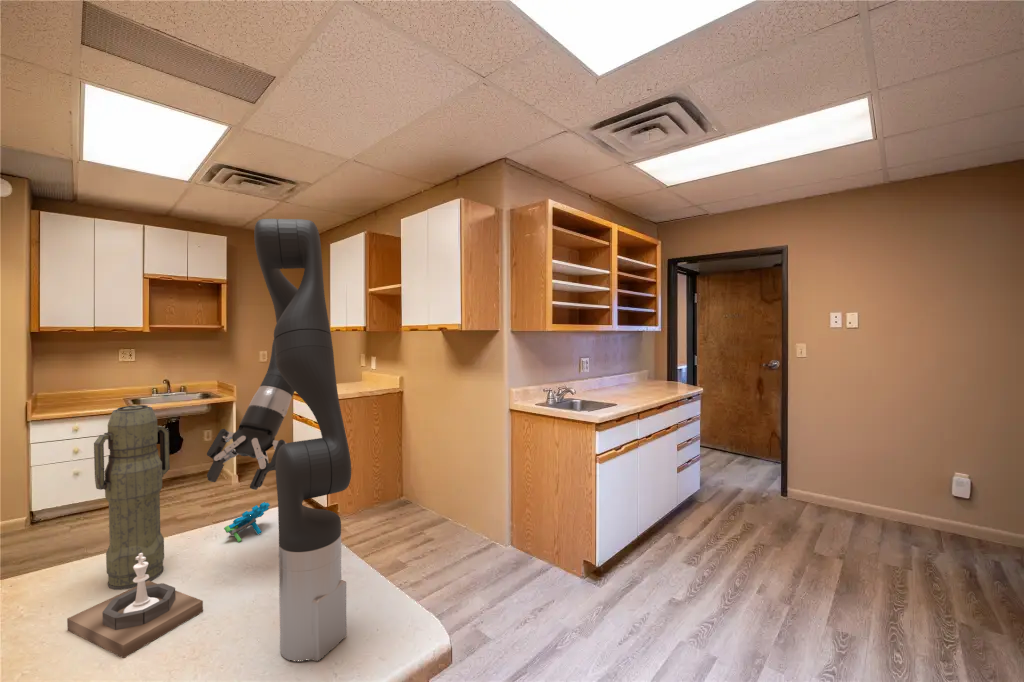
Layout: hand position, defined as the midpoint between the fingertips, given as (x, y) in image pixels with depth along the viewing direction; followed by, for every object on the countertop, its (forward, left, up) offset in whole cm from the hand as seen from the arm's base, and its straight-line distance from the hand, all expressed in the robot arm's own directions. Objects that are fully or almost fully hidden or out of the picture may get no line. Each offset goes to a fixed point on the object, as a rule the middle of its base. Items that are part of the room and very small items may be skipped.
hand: (232, 485), depth 89 cm
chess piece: (+2, +15, -18) cm, 23 cm away
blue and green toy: (+16, -15, -20) cm, 29 cm away
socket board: (+3, +15, -19) cm, 25 cm away
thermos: (+19, +7, -20) cm, 28 cm away
